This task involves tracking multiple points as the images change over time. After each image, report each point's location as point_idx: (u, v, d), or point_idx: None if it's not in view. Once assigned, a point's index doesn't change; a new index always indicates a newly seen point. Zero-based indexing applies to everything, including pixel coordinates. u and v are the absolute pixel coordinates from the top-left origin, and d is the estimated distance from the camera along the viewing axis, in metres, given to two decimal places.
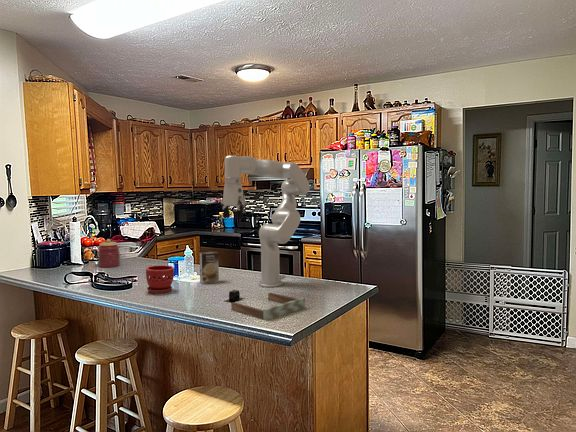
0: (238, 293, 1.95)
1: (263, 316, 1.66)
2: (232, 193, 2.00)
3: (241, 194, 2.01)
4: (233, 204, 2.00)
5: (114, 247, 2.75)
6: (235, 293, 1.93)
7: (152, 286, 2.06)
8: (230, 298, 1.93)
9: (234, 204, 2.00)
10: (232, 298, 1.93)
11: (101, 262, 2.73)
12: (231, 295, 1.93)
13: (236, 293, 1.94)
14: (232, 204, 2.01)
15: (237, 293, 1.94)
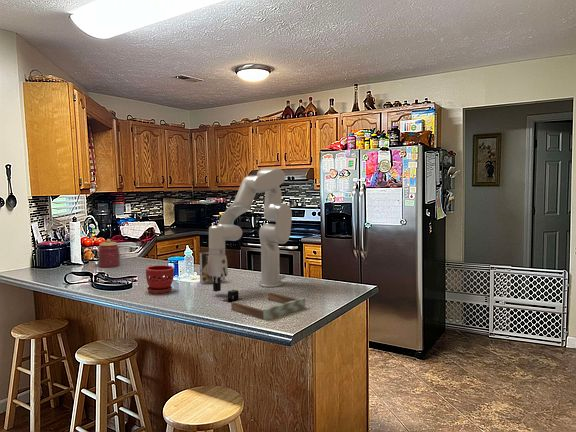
0: (237, 293, 1.95)
1: (263, 316, 1.66)
2: (216, 264, 1.98)
3: (225, 265, 1.99)
4: (217, 275, 1.99)
5: (114, 247, 2.75)
6: (233, 293, 1.93)
7: (152, 286, 2.06)
8: (228, 298, 1.94)
9: (218, 275, 1.98)
10: (230, 298, 1.93)
11: (101, 262, 2.73)
12: (229, 295, 1.93)
13: (234, 293, 1.94)
14: (216, 275, 1.99)
15: (236, 293, 1.95)
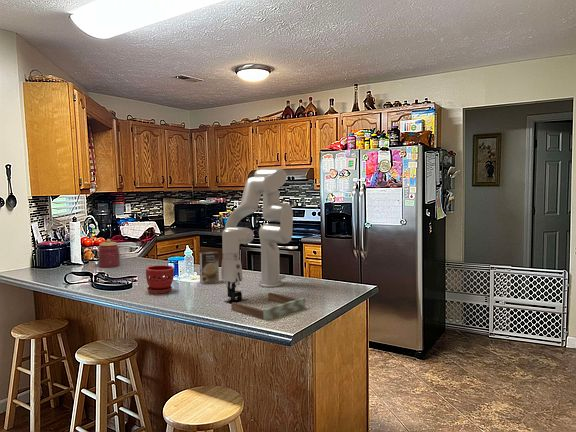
0: (240, 294, 1.93)
1: (263, 316, 1.66)
2: (230, 269, 1.92)
3: (239, 270, 1.92)
4: (231, 280, 1.92)
5: (114, 247, 2.75)
6: (236, 294, 1.92)
7: (152, 286, 2.06)
8: (231, 298, 1.92)
9: (232, 280, 1.92)
10: (233, 299, 1.91)
11: (101, 262, 2.73)
12: (232, 296, 1.92)
13: (238, 294, 1.92)
14: (230, 280, 1.93)
15: (239, 294, 1.93)
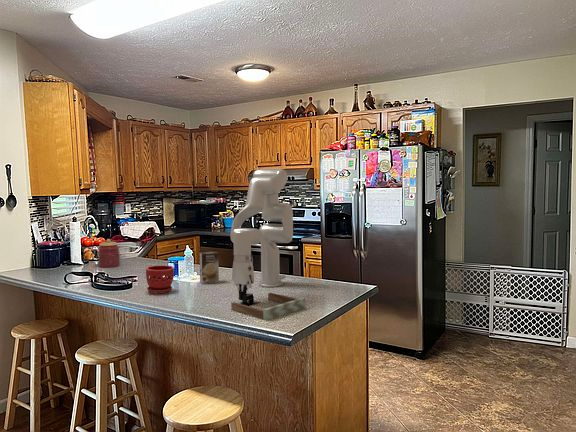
0: (252, 297, 1.88)
1: (263, 316, 1.66)
2: (242, 271, 1.87)
3: (251, 272, 1.87)
4: (243, 283, 1.87)
5: (114, 247, 2.75)
6: (248, 297, 1.86)
7: (152, 286, 2.06)
8: (243, 302, 1.87)
9: (244, 283, 1.86)
10: (245, 302, 1.86)
11: (101, 262, 2.73)
12: (244, 298, 1.86)
13: (249, 297, 1.87)
14: (242, 283, 1.87)
15: (251, 297, 1.88)
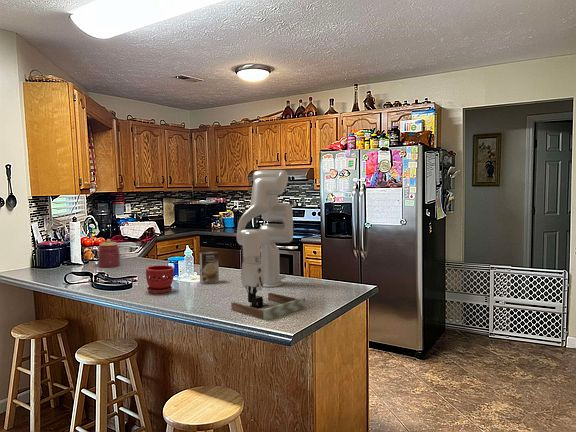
0: (261, 299, 1.84)
1: (263, 316, 1.66)
2: (251, 273, 1.82)
3: (261, 274, 1.83)
4: (252, 285, 1.83)
5: (114, 247, 2.75)
6: (258, 299, 1.82)
7: (152, 286, 2.06)
8: (252, 304, 1.83)
9: (253, 285, 1.82)
10: (254, 304, 1.82)
11: (101, 262, 2.73)
12: (253, 301, 1.82)
13: (259, 299, 1.83)
14: (251, 285, 1.83)
15: (260, 299, 1.83)
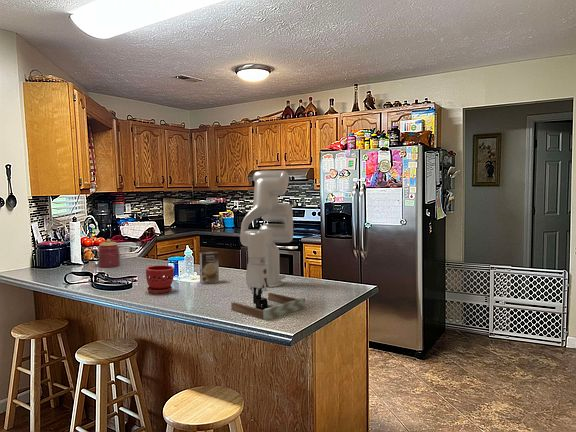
0: (266, 301, 1.81)
1: (263, 316, 1.66)
2: (256, 274, 1.80)
3: (266, 275, 1.81)
4: (258, 286, 1.81)
5: (114, 247, 2.75)
6: (262, 301, 1.80)
7: (152, 286, 2.06)
8: (257, 306, 1.80)
9: (259, 287, 1.80)
10: (259, 306, 1.80)
11: (101, 262, 2.73)
12: (258, 303, 1.80)
13: (263, 301, 1.80)
14: (256, 286, 1.81)
15: (264, 301, 1.81)
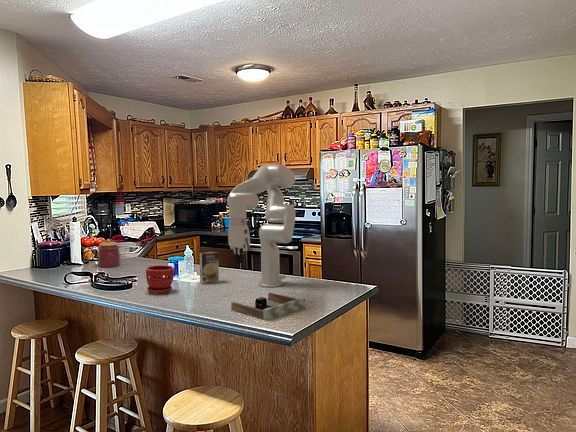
0: (265, 301, 1.82)
1: (263, 316, 1.66)
2: (238, 235, 1.88)
3: (247, 235, 1.88)
4: (239, 246, 1.88)
5: (114, 247, 2.75)
6: (262, 301, 1.80)
7: (152, 286, 2.06)
8: (256, 306, 1.80)
9: (240, 246, 1.88)
10: (258, 306, 1.80)
11: (101, 262, 2.73)
12: (257, 303, 1.80)
13: (263, 301, 1.81)
14: (238, 246, 1.88)
15: (264, 301, 1.81)
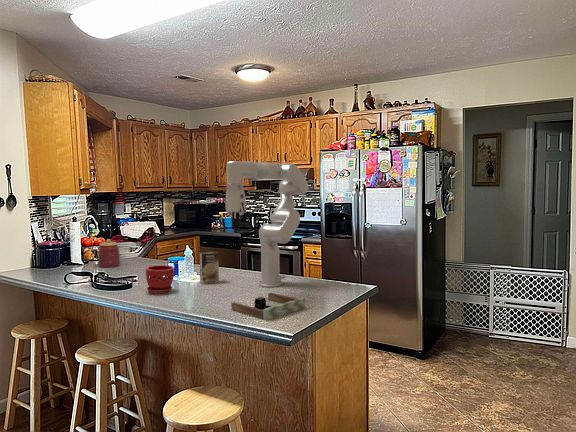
0: (264, 301, 1.82)
1: (263, 316, 1.66)
2: (234, 199, 1.98)
3: (243, 200, 1.99)
4: (235, 210, 1.98)
5: (114, 247, 2.75)
6: (261, 301, 1.80)
7: (152, 286, 2.06)
8: (256, 306, 1.81)
9: (236, 210, 1.98)
10: (258, 306, 1.80)
11: (101, 262, 2.73)
12: (257, 303, 1.80)
13: (262, 301, 1.81)
14: (234, 210, 1.99)
15: (263, 301, 1.81)
